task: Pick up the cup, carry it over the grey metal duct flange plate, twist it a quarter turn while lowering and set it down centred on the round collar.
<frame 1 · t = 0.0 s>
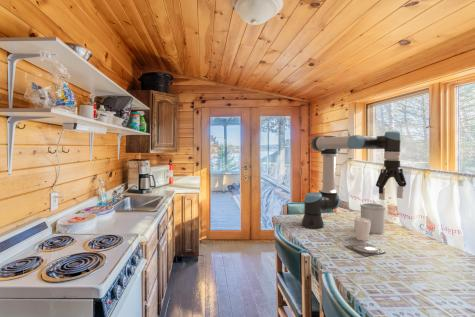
hand: (390, 198, 134), 28 cm above the table, fingers open, 13 cm apart
cup: (361, 239, 151), on the table
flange: (364, 249, 135), on the table
utensil holder: (372, 230, 167), on the table
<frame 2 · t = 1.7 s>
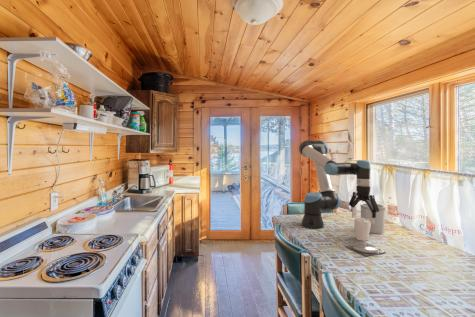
hand: (362, 220, 150), 12 cm above the table, fingers open, 13 cm apart
nothing on the table moved.
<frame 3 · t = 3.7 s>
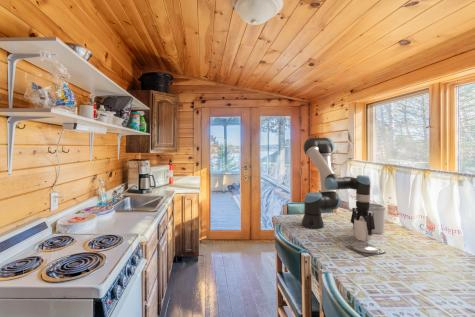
hand: (361, 237, 151), 1 cm above the table, fingers closed on cup, 9 cm apart
cup: (361, 239, 151), on the table, touching gripper
everything else where it was.
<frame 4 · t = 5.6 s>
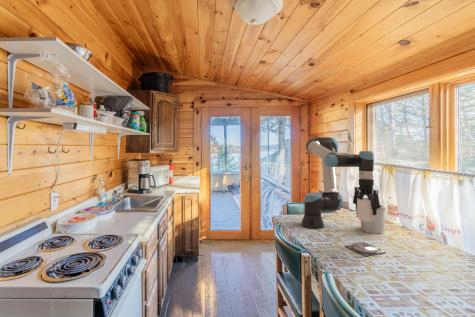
hand: (365, 218, 138), 16 cm above the table, fingers closed on cup, 9 cm apart
cup: (365, 220, 138), point 15 cm above the table, touching gripper
everything else where it was.
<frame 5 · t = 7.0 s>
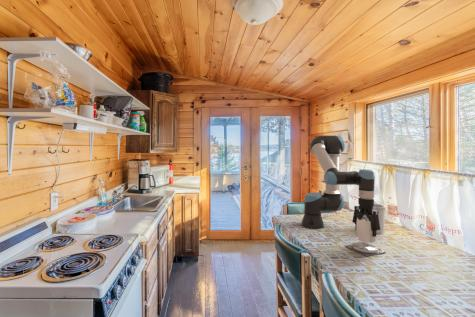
hand: (365, 239, 134), 6 cm above the table, fingers closed on cup, 9 cm apart
cup: (365, 241, 134), point 5 cm above the table, touching gripper
everything else where it was.
when the fingers open (3 cm above the table, at t = 8.0 s): cup stays where it is, resting on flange.
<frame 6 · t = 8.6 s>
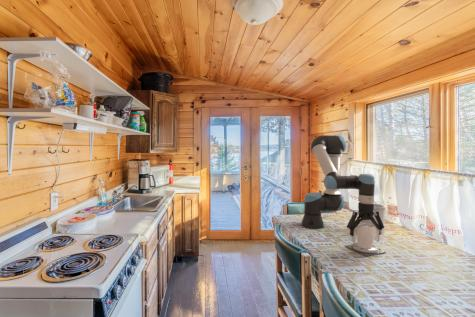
hand: (365, 241, 134), 5 cm above the table, fingers open, 13 cm apart
cup: (364, 247, 135), point 1 cm above the table, touching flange
everything else where it was.
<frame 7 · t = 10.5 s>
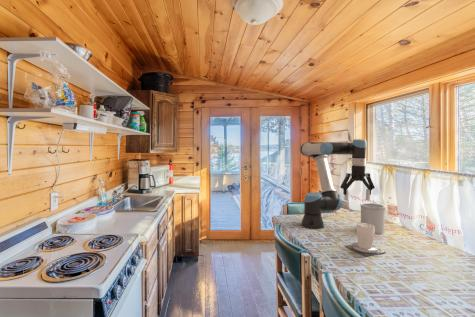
hand: (356, 200, 149), 24 cm above the table, fingers open, 13 cm apart
nothing on the table moved.
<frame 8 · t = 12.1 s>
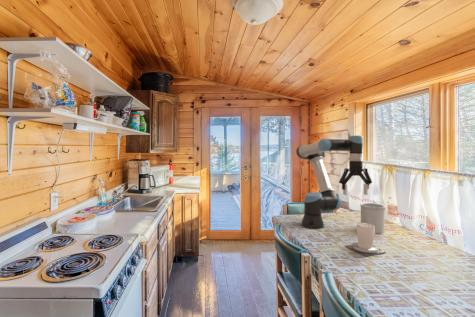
hand: (355, 194, 153), 27 cm above the table, fingers open, 13 cm apart
nothing on the table moved.
at the end: cup inside the target area on the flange (0.1 cm from its centre), point 1.4 cm above the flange's base; cup tilted 0°; cup touching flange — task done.
